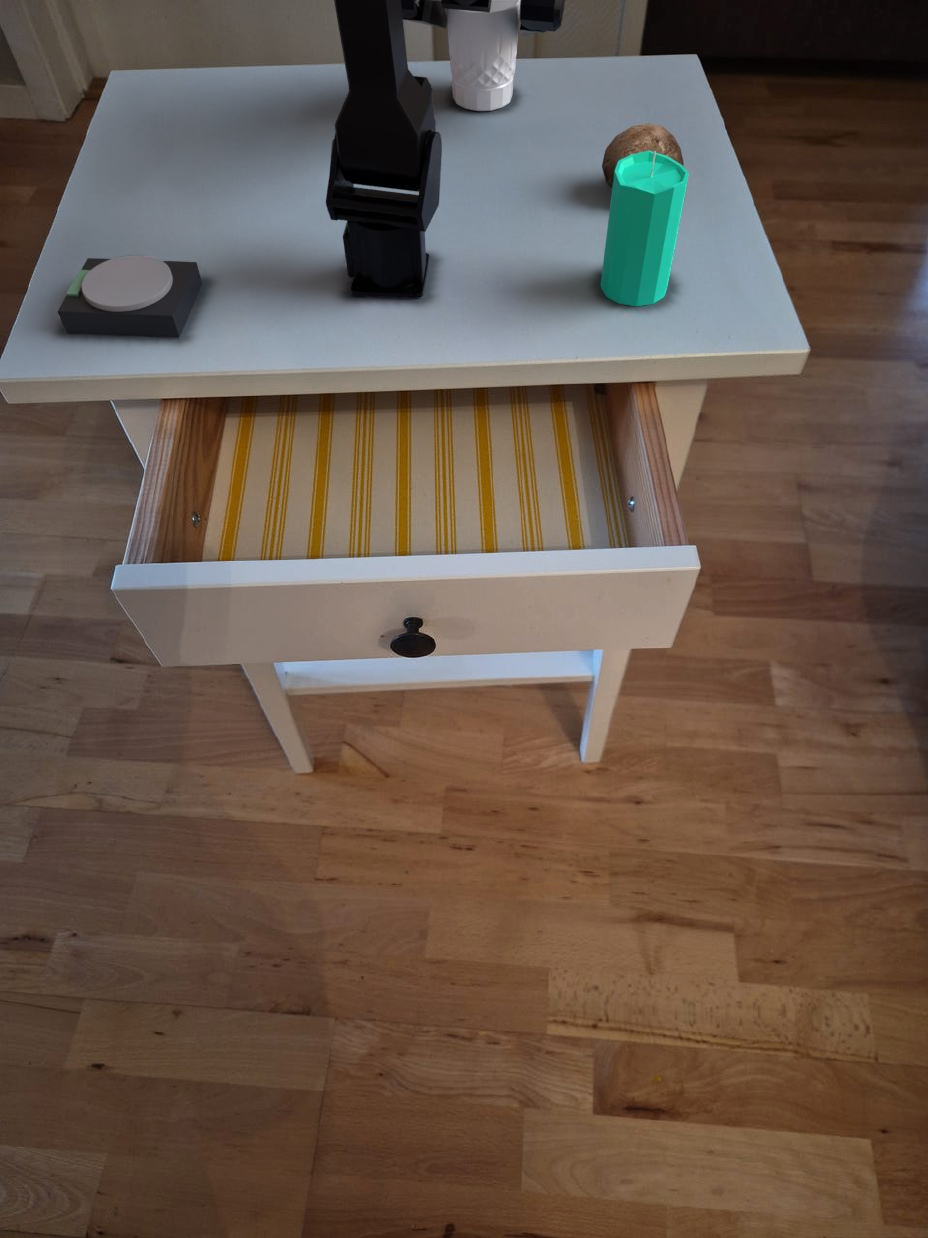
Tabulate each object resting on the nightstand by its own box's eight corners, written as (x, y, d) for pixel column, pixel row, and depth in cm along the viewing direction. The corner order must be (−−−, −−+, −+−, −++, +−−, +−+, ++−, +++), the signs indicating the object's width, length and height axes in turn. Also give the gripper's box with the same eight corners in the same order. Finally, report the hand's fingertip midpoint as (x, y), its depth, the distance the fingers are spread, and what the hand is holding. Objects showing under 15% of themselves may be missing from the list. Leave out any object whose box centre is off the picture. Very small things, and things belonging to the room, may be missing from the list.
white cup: (510, 116, 101) (513, 15, 92) (441, 111, 102) (438, 9, 94) (522, 85, 105) (526, -15, 97) (455, 79, 106) (454, -20, 98)
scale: (202, 283, 82) (195, 255, 80) (179, 337, 78) (170, 309, 75) (95, 279, 83) (85, 251, 81) (66, 333, 78) (53, 304, 76)
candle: (598, 266, 83) (614, 132, 73) (664, 267, 83) (688, 133, 73) (602, 306, 80) (619, 170, 70) (670, 306, 79) (697, 171, 70)
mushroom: (607, 130, 92) (631, 94, 86) (675, 167, 93) (704, 134, 87) (580, 200, 91) (602, 168, 85) (649, 236, 92) (676, 207, 86)
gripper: (575, -149, 81) (584, -48, 96) (375, -161, 84) (415, -61, 99) (553, -14, 83) (565, 65, 98) (358, -30, 85) (399, 49, 101)
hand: (485, 27), depth 99 cm, fingers open, 9 cm apart
